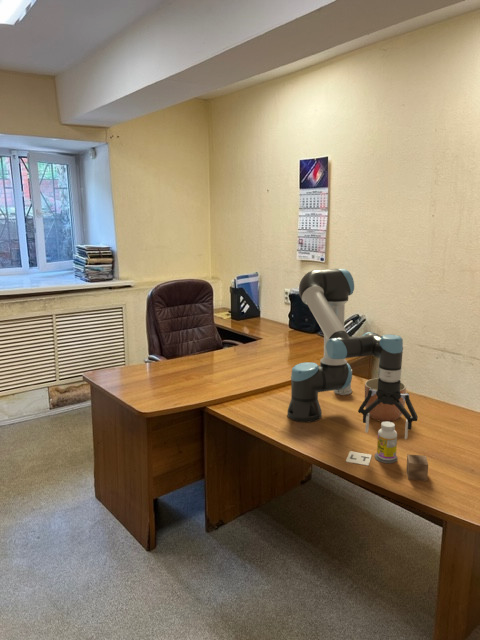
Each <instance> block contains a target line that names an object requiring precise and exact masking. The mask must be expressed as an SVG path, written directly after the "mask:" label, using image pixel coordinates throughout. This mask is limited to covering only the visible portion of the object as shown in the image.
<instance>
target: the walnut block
mask: <svg viewBox="0 0 480 640" xmlns="http://www.w3.org/2000/svg"><path fill="white" fill-rule="evenodd" d="M406 475H407V479H408V480H414V481H421V482H424V481H425V482H428V475H429V462H428V459H427V456H426V455H418V454H407V455H406Z"/></svg>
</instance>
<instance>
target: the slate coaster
mask: <svg viewBox="0 0 480 640" xmlns="http://www.w3.org/2000/svg"><path fill="white" fill-rule="evenodd" d="M374 459H375V460H376V461H378V462H380V463H383V464H395V463H396V462H398V456H397V455H396V458H395V459H394V460H390V461H387V460H383V459H380V458H379V457H378V456H377V452H376V453H375V454H374Z"/></svg>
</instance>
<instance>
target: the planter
mask: <svg viewBox="0 0 480 640" xmlns="http://www.w3.org/2000/svg"><path fill="white" fill-rule="evenodd" d="M378 379H379V377H378V378H371V379H367V380H366V381H365V383H364V399H365V398H366V397H367V395H368V391H369V389H370V388H372V389H373V390H376V391H377V390H378ZM400 393H401V394H406V393H407V385H406V384H405V383H404V382H402V381H401V382H400ZM377 398H378V397H377V395H376V394H374V396H371V398H370V399H369V401H368V403H367V404H366V406H365V407H364V409H366V408H367V407H369V406H370V405H371V404H372V403H373V402H374V401H375V400H376V399H377ZM399 401H400V402H401V404H402V405H403V406H404V407H405V404H406V402H405V400H403V398H402V397H401V398H400V399H399ZM402 415H403V414H402V413H401V411H400V410H399V409H398V408H397V407H396V406H395V405H394V404H393V405H389V404H383V403H382V402H381V403H380V404H378V405H377V406H376V407H375V408H373V409H372V410H371V411H370V412H369V417H370V418H371V419H374V420H375V421H377V422H381V423H382V422H386V421H387V422H392V423H393V422H394V421H395V422H396V421H397V420H398V419H401V417H402Z"/></svg>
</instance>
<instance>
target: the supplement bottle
mask: <svg viewBox="0 0 480 640" xmlns="http://www.w3.org/2000/svg"><path fill="white" fill-rule="evenodd" d="M380 426H381V428H380V429H378V431H377V447H376V453H377V456H378V457H379V458H380V459H383V460H387V461H390V460H394V459H395V458H396V456H397V446H398V445H397V444H398V433H397V431H396V430H395V428H396V425H395V423H394V422H393V421H392V422H387V421H386V422H382V421H381V424H380Z"/></svg>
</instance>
